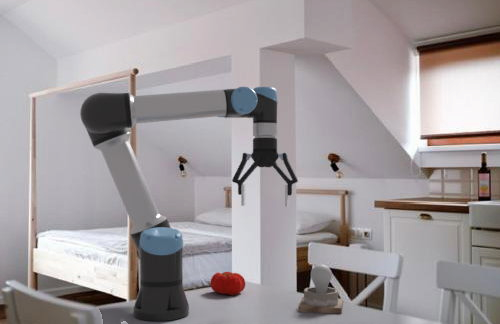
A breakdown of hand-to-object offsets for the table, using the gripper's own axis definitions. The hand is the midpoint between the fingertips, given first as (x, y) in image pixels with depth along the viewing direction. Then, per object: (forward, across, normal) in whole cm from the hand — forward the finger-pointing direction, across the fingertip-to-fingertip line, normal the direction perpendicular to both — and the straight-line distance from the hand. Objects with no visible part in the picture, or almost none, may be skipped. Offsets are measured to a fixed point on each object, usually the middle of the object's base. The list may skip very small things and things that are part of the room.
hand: (264, 205), depth 189 cm
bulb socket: (+29, -18, +9) cm, 35 cm away
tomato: (+29, +13, -5) cm, 32 cm away
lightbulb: (+27, -18, +9) cm, 34 cm away
